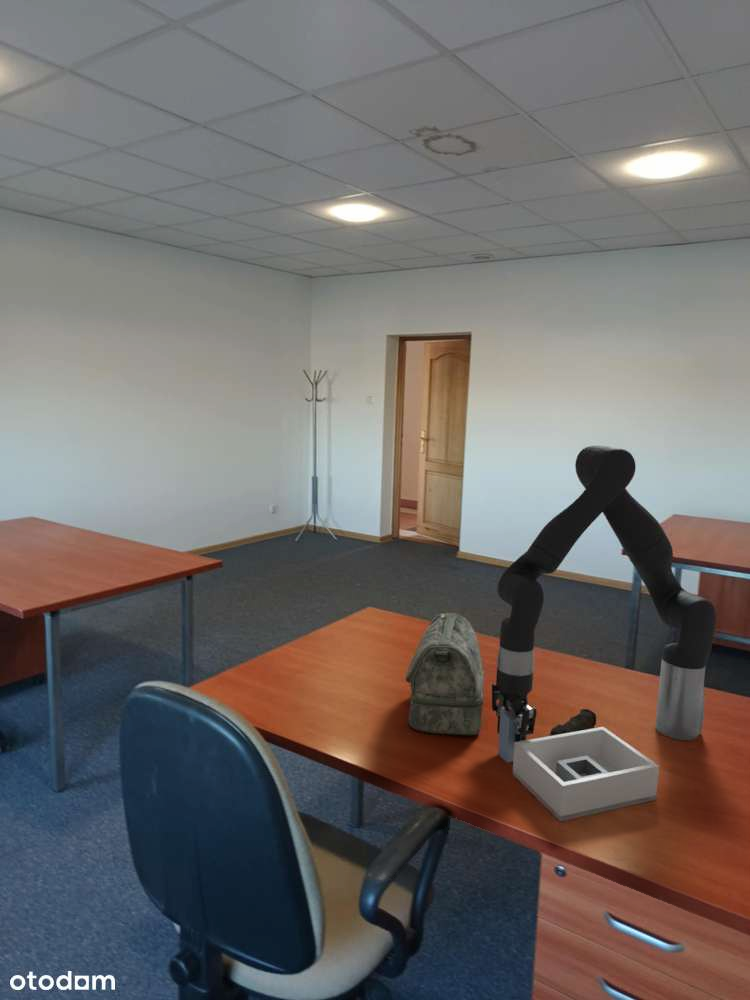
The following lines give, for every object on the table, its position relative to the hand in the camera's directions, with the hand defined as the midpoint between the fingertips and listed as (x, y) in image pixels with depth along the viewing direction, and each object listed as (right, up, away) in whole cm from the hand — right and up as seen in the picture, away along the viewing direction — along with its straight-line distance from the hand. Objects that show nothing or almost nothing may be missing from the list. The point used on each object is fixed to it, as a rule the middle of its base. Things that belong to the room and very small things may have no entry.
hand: (510, 740), depth 139 cm
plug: (0, -4, +1) cm, 4 cm away
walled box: (+12, -5, -10) cm, 17 cm away
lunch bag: (-12, -1, +21) cm, 24 cm away
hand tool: (+16, -3, +9) cm, 19 cm away
